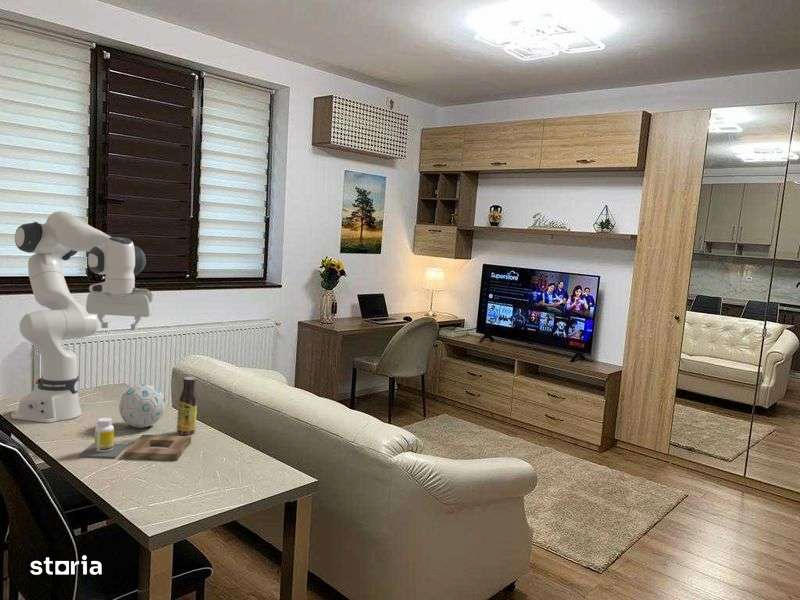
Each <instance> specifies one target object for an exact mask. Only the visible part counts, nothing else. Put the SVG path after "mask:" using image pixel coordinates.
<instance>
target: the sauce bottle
mask: <svg viewBox="0 0 800 600" xmlns="http://www.w3.org/2000/svg"><path fill="white" fill-rule="evenodd" d="M196 379H197V378H196V377H192V376H185V377H183V380H182V381H183V384H182V385H183V386H182V387H183V389H182V391H181V395H180V397H179V399H178V403H177V404H178V406H177V407H178V408H177V420H176V432H177V434H178V435H179V436H180V435H181V436H188V435H189V436H190V435H194V433H196V426H197V413H198V412H197V411H198V395H197V393H196V391H195V387H196V381H197V380H196Z"/></svg>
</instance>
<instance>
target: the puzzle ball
mask: <svg viewBox="0 0 800 600" xmlns="http://www.w3.org/2000/svg"><path fill="white" fill-rule="evenodd" d="M118 407H119V409H118V410H119V414H120V416H121V418H122V420H123V422H125V423H126V424H128V425H129V426H131V427H134V428H139V429H140V428H141V429H143V428H147V427H150V426H152V425H154V424H156V423H157V422H158V421H159V420H161V417H162V416H163V415H164V413H165V410H166V409H165V408H166V399H165V397H164V395H163V393H162V392H161V391H160V390H159V389H158V388H157V387H155V386H153V385H150V384H139V385H136V386H132V387H130V388H128V390H126V392H124V393H123V394H122V396H121V399H120V402H119V406H118Z"/></svg>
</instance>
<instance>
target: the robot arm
mask: <svg viewBox="0 0 800 600" xmlns="http://www.w3.org/2000/svg"><path fill="white" fill-rule="evenodd" d="M14 242H15V245H16V247H17V249H18V250H20V251H22V252H25V253H30V254H31V253H34V254H32V255H31V256H30V257H29V259H28V261H27V270H28V271H27V272H28V278H29V281H30V285H31V289H32V292H33V297H34V299H35V301H36V302H37V303H38V305H40V306H41V307H45V308H46V309H48V310H37V311H32V312H29V313H26V314H24V315H23V316H22V317H21V320H20V322H19V332H20V334H21V336H22V337H23V338H24V339H25V340H26V341H28V342H29V343H31V344H33V346H34V347H36V349H37V350H38V351H39V354H40V356H41V365H42V376H41V378H38V379H37V380H36V381H34V382H35V383H34V385H37V387H36V388H34V389H33V390H31V391H30V392H29V393H27V394H26V395H25V396H23V397H22V398H21V400H20V401H19V404H18V407H17V409H16V410H14V411H13V412H11V414H10V419H13V420H18V421H19V420H20V421H27V422H28V421H30V422H38V423H53V422H59V421H65V420H71V419H74V418H78V417H80V416H81V415H83V412H82V408H81V404H80V398H79V390H80V389H79V387H80V379H79V375H78V365H79V363H78V356H77V354H76V353H75V352H74V351H72V350H70V349H68V348H65V347H63V346H62V342H61V341H64V340H75V339H77V340H78V339H83V338H88V337H90V336H94V335H95V334H96V332H97V331H98V329H99V325H101V326H100V327H101V329H108V327H109V322H107V321H106V320H105V319H104V318H105V316H121V317H133V318H134V320H135V321H134V322H133V323H131V324H130V330H132V331H137V330H138V324H139V323H140V321H141V319H142V318H148V317H150V316H152V315H153V306H152V305H153V303H152V301H153V292H152V291H151V290H149V289H148V288H139V287H138V288H137V287H136V286H135V284H136V281H135V280H136V278H135V276H136V275H139V274H140V273H142V271H143V270H144V268H145V267H146V265H147V258H146V255H145V252H144V251H143V250H142V249H141V248H140V247H139V246H137V245H134V242H133V240H131V239H130V238H127V237H121V236H112V235H110V234H107V233H106V232H103V231H102V230H100V229H98V228H95V227H93V226H92V225H90V224H88V223H86V222H84V221H83V220H82V219H80V218H78V217H77V216H76V215H73V214H71V213H69V212H66V211H63V210H62V211H61V210H60V211H55V212H53V213H51V214H49V216H48V217H47V218H46V222H45V223H38V222H37V221H33V222H29V223H24V224H21V225H20V226H18V227H17V229H16V230H15V234H14ZM78 252H88V253H87V258H86V263H87V264H86V265H87V267H88V268H89V270H90V271H91V272H92V273H94V274H96V275H97V274H98V275H105V277H104V278H105V279H104V280H105V281H101V282H98V283H94V284H91V285H90V286H89V288H88V290H89V293H88V294H87V298H86V303H85V306H84V305H82V304H81V303H79V301H77V300H76V298H74V297H73V295H72V294H71V292H70V289H69V287H68V284H67V281H66V279H65V276H64V273H63V269H62V265H61V260H63V261H68V260H70V259H71V257H73V256H75V255H76V254H77V253H78Z"/></svg>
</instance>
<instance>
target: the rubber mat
mask: <svg viewBox="0 0 800 600" xmlns="http://www.w3.org/2000/svg"><path fill="white" fill-rule="evenodd" d="M129 445H130V444H129V443H114V447H113V449H112V450H110V451H107V452H97V451H95V442H92V444H90V445H89V446H88V447H87V448H85V449H84V450H82V452H80V453H79V454H78V458H90V457H94V458H95V459H114V458H115V459H117V458H118V457H119V456H120V455H121V454H122V453H123V452H124V451H125V450H126V449H127V448H129V447H130V446H129ZM126 447H127V448H126ZM125 448H126V449H125ZM124 449H125V450H124ZM123 450H124V451H123ZM122 451H123V452H122ZM121 452H122V453H121ZM120 453H121V454H120ZM119 454H120V455H119ZM118 455H119V456H118ZM117 456H118V457H117Z"/></svg>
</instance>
